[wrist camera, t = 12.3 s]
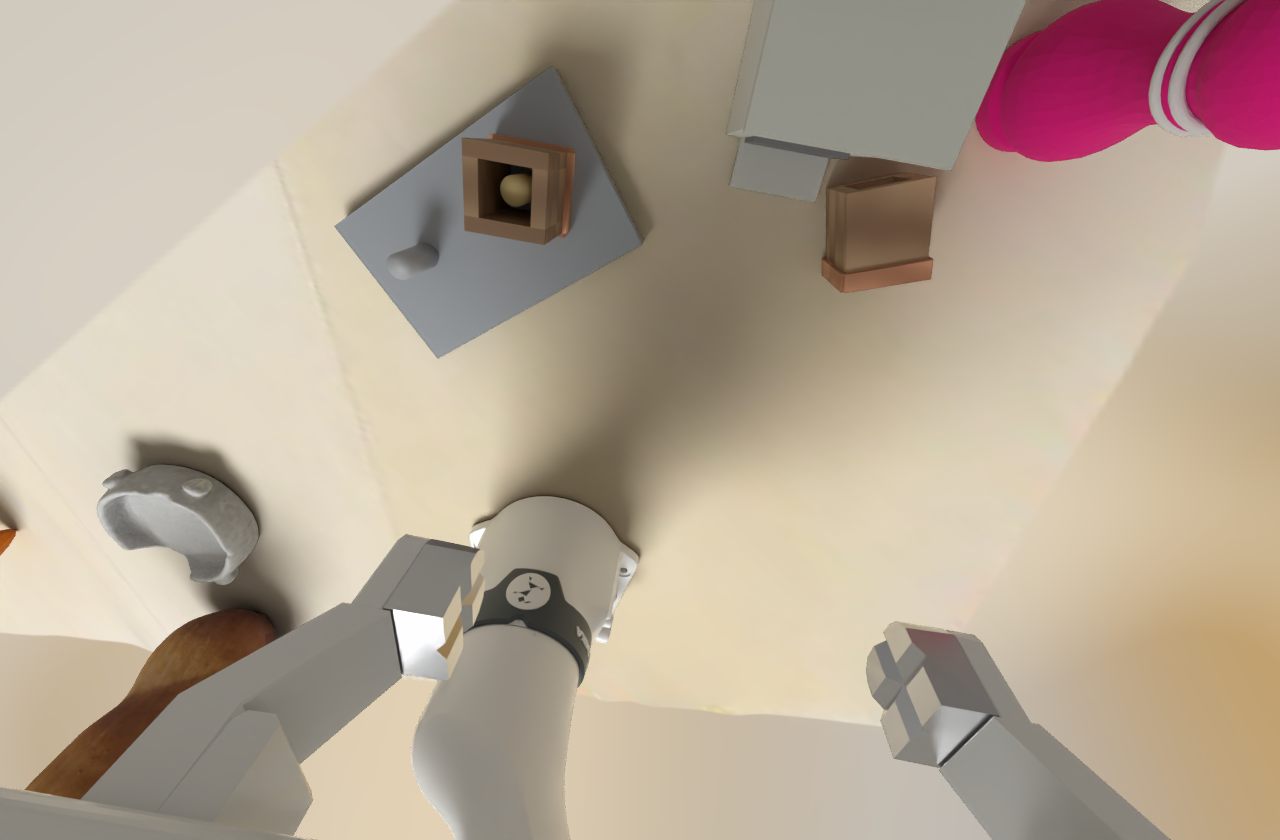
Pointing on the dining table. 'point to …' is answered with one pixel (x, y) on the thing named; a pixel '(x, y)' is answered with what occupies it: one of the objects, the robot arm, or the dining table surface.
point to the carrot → (6, 538)
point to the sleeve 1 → (549, 188)
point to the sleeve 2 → (879, 232)
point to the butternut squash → (155, 695)
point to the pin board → (483, 264)
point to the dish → (180, 518)
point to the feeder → (860, 85)
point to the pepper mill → (1138, 78)
